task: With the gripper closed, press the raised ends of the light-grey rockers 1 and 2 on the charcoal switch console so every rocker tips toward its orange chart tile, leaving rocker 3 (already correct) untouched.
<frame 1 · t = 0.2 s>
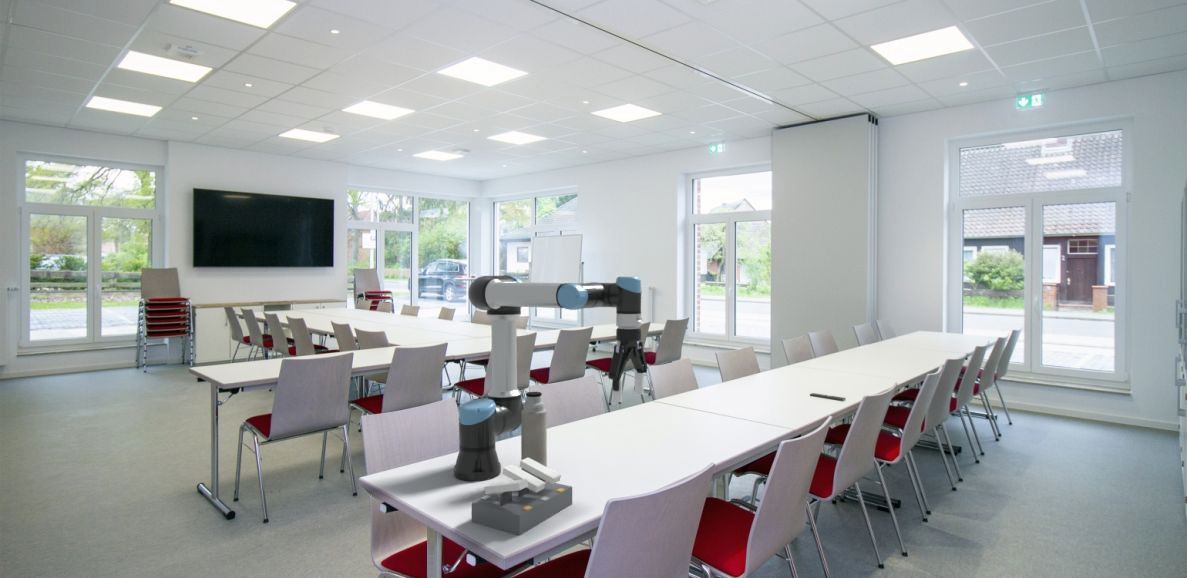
hand: (628, 397, 183), 28 cm above the table, fingers open, 13 cm apart
rocker 3: (540, 470, 172), point 9 cm above the table, hinge at 15.0°
thermos bottle: (534, 481, 192), on the table
rocker 1: (506, 486, 159), point 9 cm above the table, hinge at -15.0°
rocker 2: (523, 478, 166), point 9 cm above the table, hinge at 15.0°
console: (523, 512, 166), on the table
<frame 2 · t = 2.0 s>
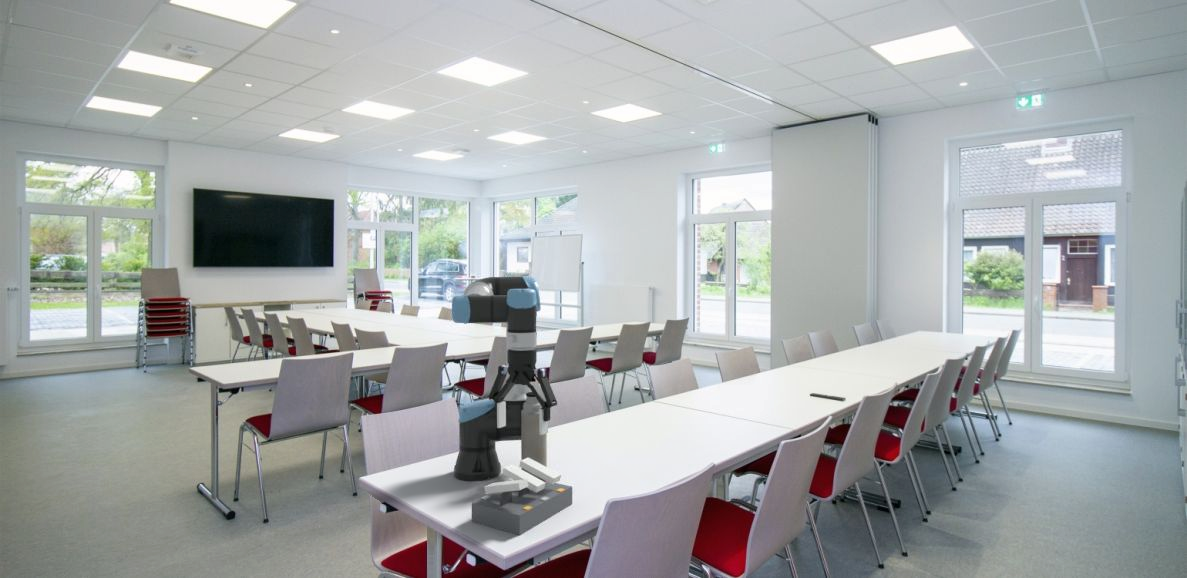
hand: (522, 430, 157), 25 cm above the table, fingers open, 13 cm apart
thermos bottle: (534, 481, 192), on the table, touching arm
everything else where it was.
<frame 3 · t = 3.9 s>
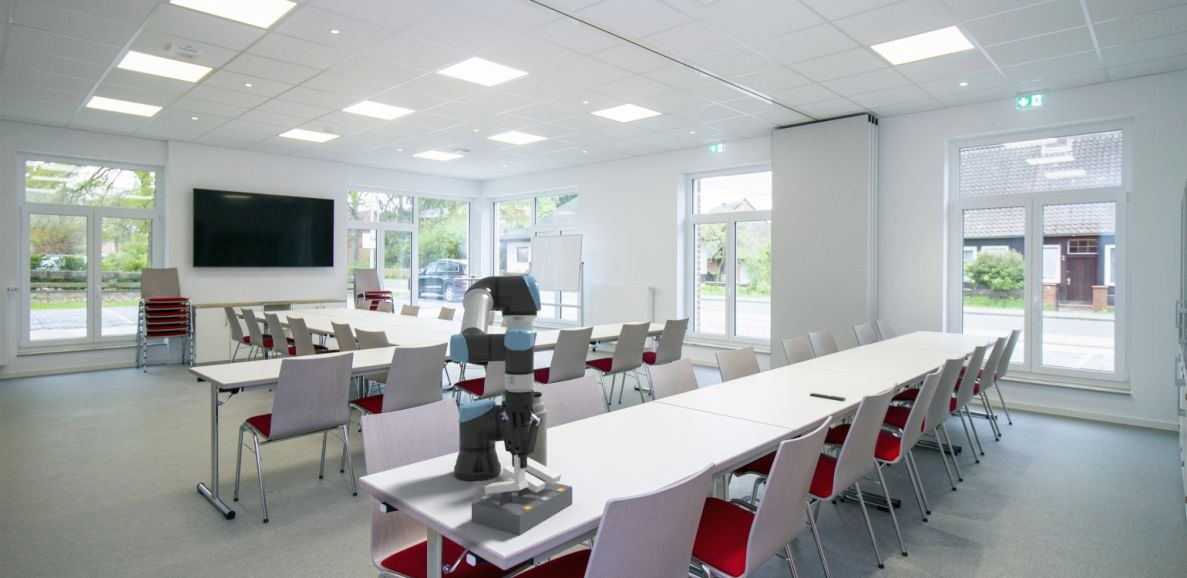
hand: (519, 479, 157), 12 cm above the table, fingers closed
rocker 1: (506, 486, 159), point 9 cm above the table, hinge at -15.0°, touching gripper
everything else where it was.
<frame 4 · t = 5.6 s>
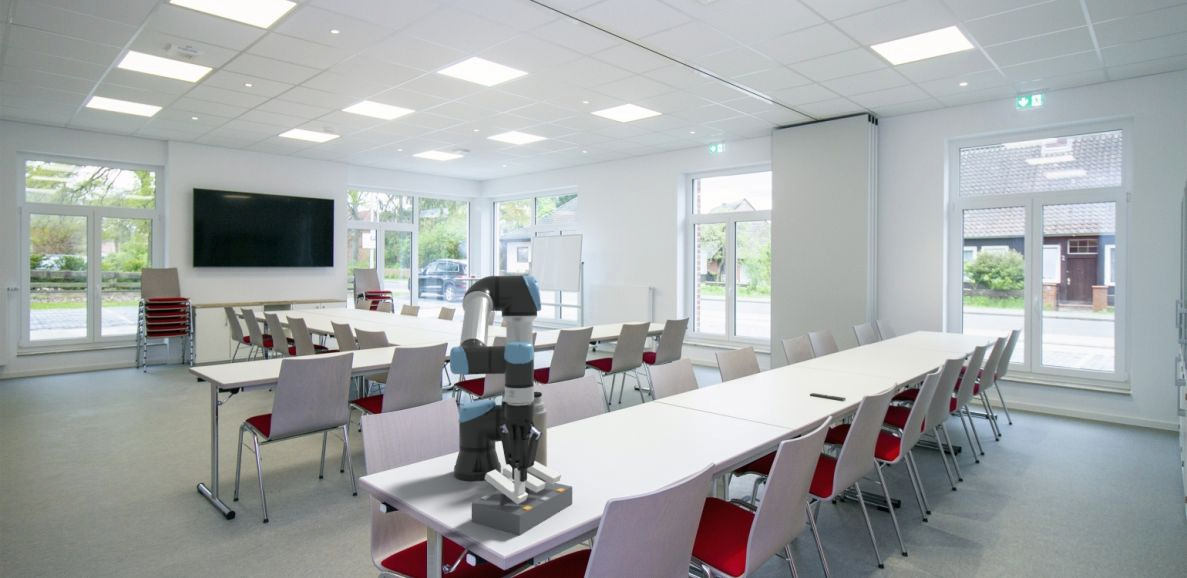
hand: (519, 492, 157), 9 cm above the table, fingers closed
rocker 1: (506, 486, 159), point 9 cm above the table, hinge at 22.6°, touching gripper
everything else where it was.
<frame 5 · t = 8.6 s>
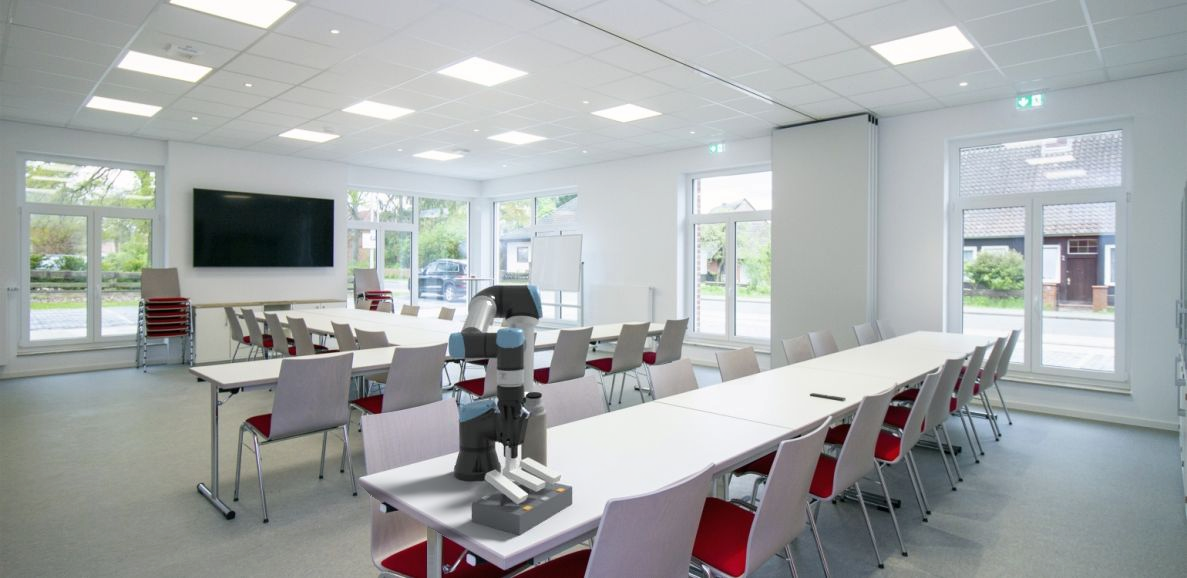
hand: (510, 469, 168), 11 cm above the table, fingers closed
rocker 1: (506, 486, 159), point 9 cm above the table, hinge at 22.7°
rocker 2: (523, 478, 166), point 9 cm above the table, hinge at 12.0°, touching gripper
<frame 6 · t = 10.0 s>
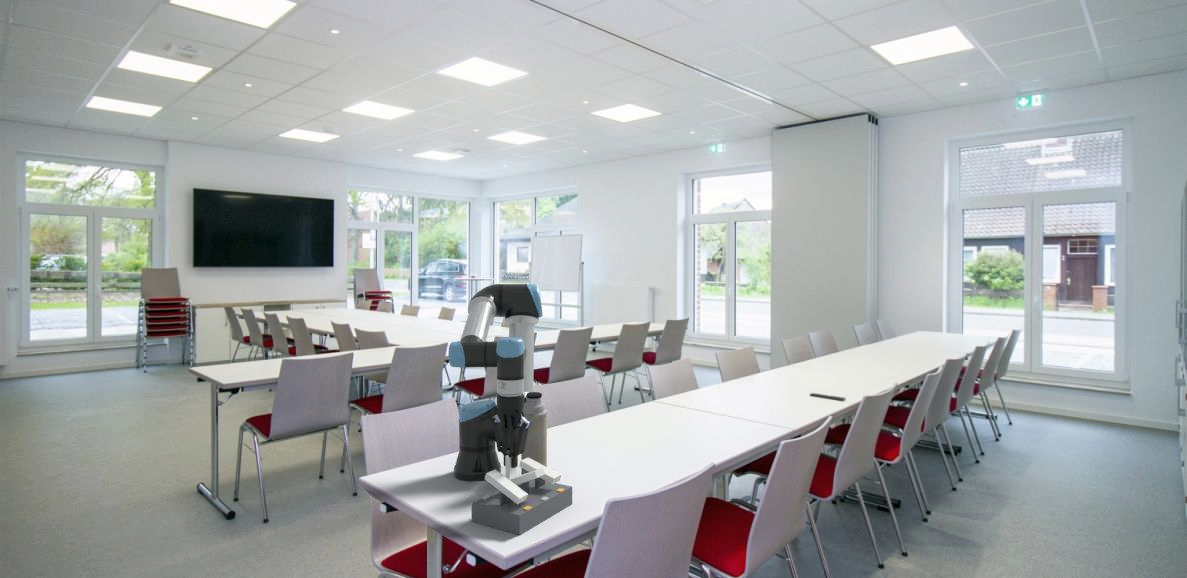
hand: (510, 478, 168), 9 cm above the table, fingers closed
rocker 2: (523, 478, 166), point 9 cm above the table, hinge at -23.6°, touching gripper
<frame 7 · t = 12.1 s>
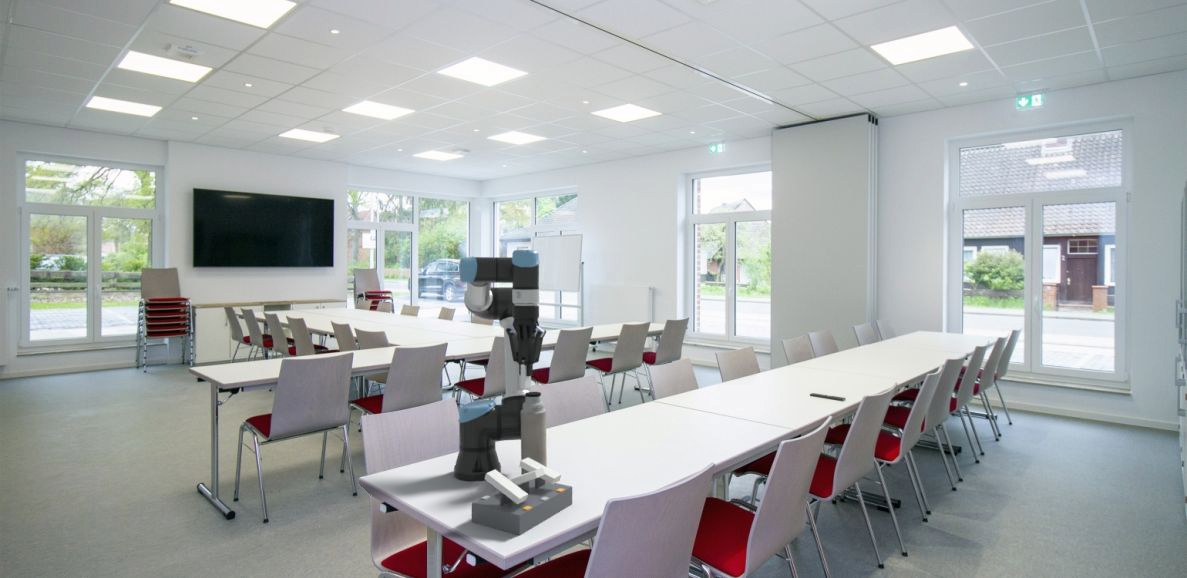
hand: (525, 387, 172), 33 cm above the table, fingers closed
thermos bottle: (534, 481, 192), on the table
rocker 2: (523, 478, 166), point 9 cm above the table, hinge at -23.6°
everything else where it was.
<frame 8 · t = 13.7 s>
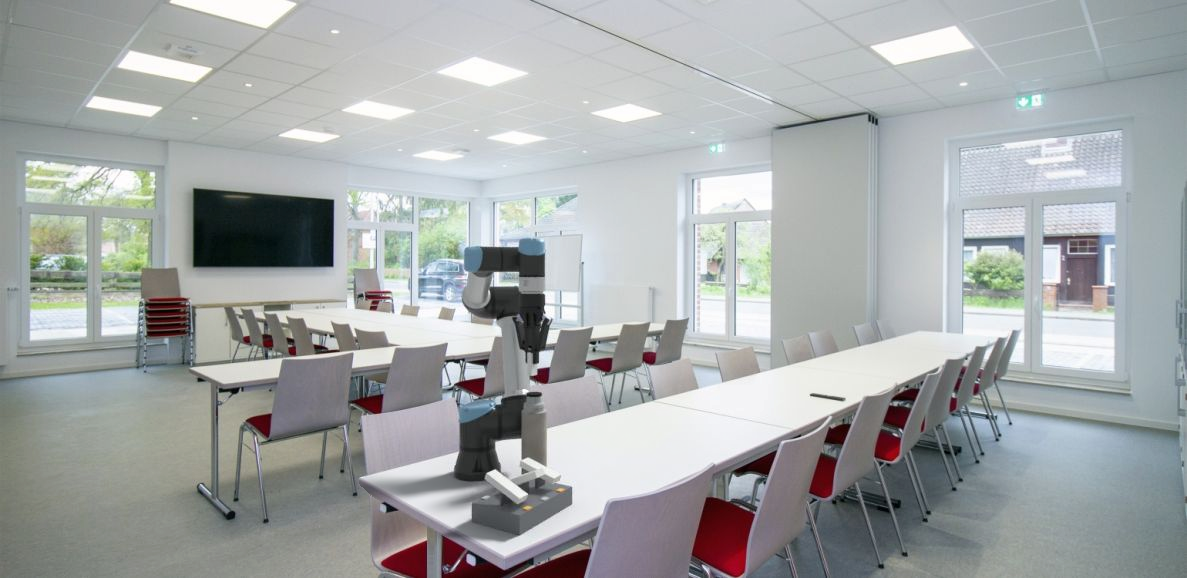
hand: (532, 375, 173), 36 cm above the table, fingers closed
nothing on the table moved.
at the end: rocker 1 at +23° (first picture: -15°); rocker 2 at -24° (first picture: +15°); rocker 3 at +15° (first picture: +15°) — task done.
